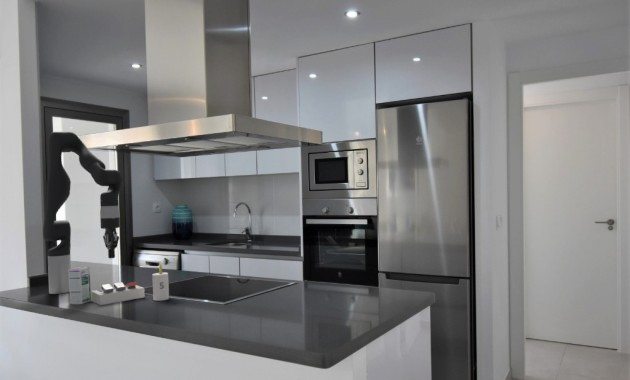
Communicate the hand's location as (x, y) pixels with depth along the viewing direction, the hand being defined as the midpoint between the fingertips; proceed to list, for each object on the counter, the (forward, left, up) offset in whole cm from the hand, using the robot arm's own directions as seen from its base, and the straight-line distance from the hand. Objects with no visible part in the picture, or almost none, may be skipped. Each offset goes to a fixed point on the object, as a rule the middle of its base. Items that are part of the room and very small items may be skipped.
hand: (111, 258), depth 199 cm
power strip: (-1, +5, -18) cm, 19 cm away
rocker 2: (+1, +2, -12) cm, 12 cm away
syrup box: (-7, -11, -18) cm, 22 cm away
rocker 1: (+1, -3, -12) cm, 12 cm away
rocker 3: (+1, +7, -12) cm, 14 cm away
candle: (+14, +15, -18) cm, 27 cm away
